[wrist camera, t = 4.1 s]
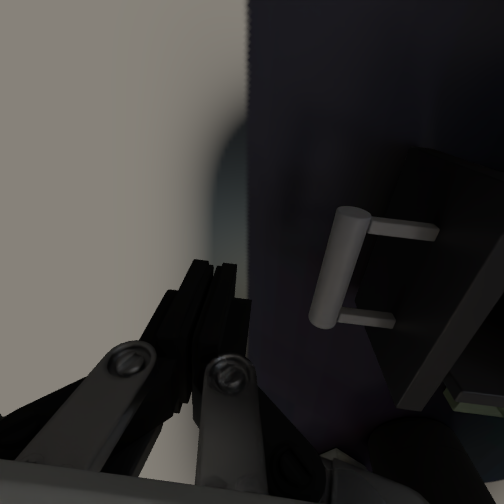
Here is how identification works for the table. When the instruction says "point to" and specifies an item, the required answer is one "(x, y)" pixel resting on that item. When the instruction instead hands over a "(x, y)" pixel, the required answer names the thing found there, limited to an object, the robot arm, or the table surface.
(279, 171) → the table surface
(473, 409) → the panel
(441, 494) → the pen holder
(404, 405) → the panel with bar handle
